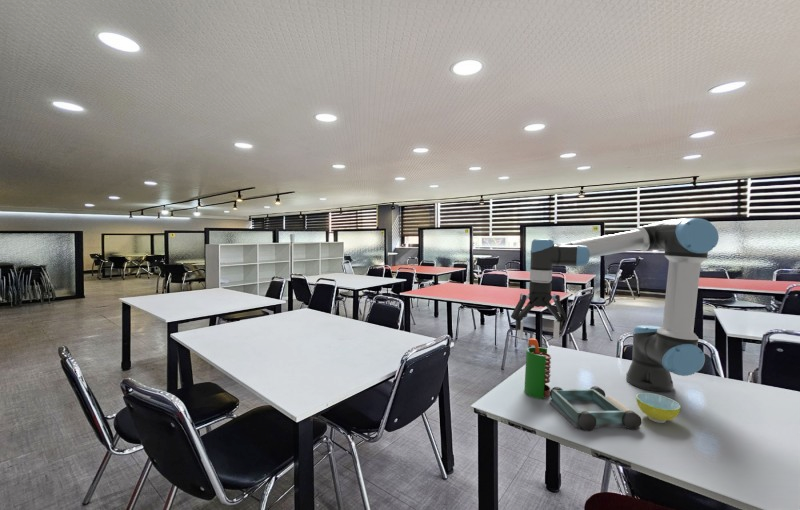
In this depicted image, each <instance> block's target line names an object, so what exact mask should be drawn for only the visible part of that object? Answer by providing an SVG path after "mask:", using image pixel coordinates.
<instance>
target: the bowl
mask: <svg viewBox="0 0 800 510" xmlns="http://www.w3.org/2000/svg"><path fill="white" fill-rule="evenodd" d="M635 397H636V404H637V406H638V408H639V409H640V411H642V413H644V414H645V415H646V416H647V418H648V420H650V421H653V422H655V423H657V424H665V423H666V421H671V420H673V419H675V418H676V417H677V416H678V415H679V414H680V411H681V404H680V403H679V402H677V401H676V400H674V399H672V398H670V397H667V396H664V395H661V394H658V393H654V392H653V393H652V392H640V393H637V394H636V396H635Z"/></svg>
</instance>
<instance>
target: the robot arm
mask: <svg viewBox="0 0 800 510" xmlns="http://www.w3.org/2000/svg"><path fill="white" fill-rule="evenodd" d="M718 242H719V232H718V230H717V228H716V226H715V225H713V223H712V222H710V221H709V220H707V219H704V218H697V217H696V218H695V217H686V218H677V219H676V218H674V219H666V220H662V221H658V222H655V223H650V224H648V225H643V226H642V225H641V226H638V227H636V228H635V229H634V230H630V231H624V232H618V233H614V234H608V235H607V234H606V235H602V236H597V237H591V238H586V239H585V238H584V239H581V240H580V239H579V240H575V241H570V242H569V241H568V242H563V243H554V240H553V239H552V238H551V239H550V238H549V239H545V238H544V239H543V238H537V239H533V240H532V241H531V245H530V268H529V269H530V270H529V280H530V281H529V286H528V287H529V289H528V291H529V293H528V294H524V293H520V297H519V301H518V302H517V304H516V306H515V307H514V309H513V312H512V313H511V314H510V318H511V319H512V320H515V329H516V330H517V339H519V340H523V337H524V334H523V333H524V321H523V319H524V318H525V317H526V316H527V315H528V314H529V312H530V311H531V310H532V309H533V308H535V307H536V308H540V307H541V308H546V309H548V310H549V312H550V314H551V315H552V316H553V317H554V318H555V320H553V332H552V333H553V339H555V340H557V341H558V340H560V331H562V327H563V325H562V324H563V322H565V321H568V315H567V314H566V311H565V310H564V307H563V305H562V303H561V298H560V297H561V296H560V295H559V294H557V293H554V294H552V285H553V284H552V281H553V266H560V267H561V266H564V267H586V266H587V265H588V264H589V261H590V259H592V258H596V257H602V256H607V255H614V254H620V253H625V252H632V251H638V250H640V252H646V251H647V252H648V251H664V254H663V255H664V256H663V257H665V258H666V259H667V260H668V269H667V279H666V288H665V289H666V290H665V297H664V298H665V299H664V307H663V309H664V310H663V317H662V326H657V325H636V326H634V328H633V332H632V358H631V359H632V360H631V364H629V365H630V366H629V368H628V371H627V372H626V374H625V375H626V376H625V380H626V381H627V382H628V383H629V384H631V385H632V386H635V387H637V388H640V389H643V390H646V391H652V392H659V393H667V392H668V393H669V392H672V391H673V389H674V381H673V379H672V375H671V373H673V374H674V375H677V376H682V377H683V376H684V377H687V376H692V375H694V374H695V373H697V372H699V371H701V370H702V369H703V367H704V364H705V361H706V356H705V353H704V352H703V351H702V349H701V348H700V347H699V346H698V344H699V336H697V334H696V333H695V332H694V328H695V320H696V319H695V318H696V310H697V300H698V290H699V283H700V276H701V275H700V273H701V264H702V263H703V262H705V261H706V260H707V259H708V254H709V252H711V251H712V250H713V249H714V248H715V247H716V246H717V245H718ZM527 300H529V301H528V302H527V303H526V301H527ZM551 300H552V301H553V302H554V305H555V307H556V309H557V310H556V309H555V308H554V307H553V305H552V303H551ZM525 304H526V305H525Z"/></svg>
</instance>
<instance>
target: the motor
mask: <svg viewBox="0 0 800 510" xmlns="http://www.w3.org/2000/svg"><path fill="white" fill-rule="evenodd" d="M528 346H530V347H527V348H526V350H525V371H524V393H525V394H526V395H528V396H530V397H533V398H536V399H540V400H544V398H548V397H550V391H551V387H550V386H549V385H548V384H549V383H550V382H551V368H552V367H551V366H552V365H551V364H552V355H551V354H549V353H548V348H547V347H539V342H538V340H537V339H536V338H534V337H533V338H529V337H528Z"/></svg>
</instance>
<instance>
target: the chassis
mask: <svg viewBox="0 0 800 510" xmlns="http://www.w3.org/2000/svg"><path fill="white" fill-rule="evenodd" d="M549 397H550V400H549V403H550V404H551V405H552V406H553V407H554V409H556V410H557V411H558V412H559V413H560V414H561V415H562V416H563V417H564V418H565V419H566V420H567V421H568V423H569V424H571V425H572V426H573V427H574V428H575V429H582V430H584V431H587V432H588V431H589V432H590V431H592V430H593V429H595V428H596V429H599V428H627V429H629V430H632V431H634V430H637V429H639V428H640V426H641V425H642V418H641V416H640V415H639V414H638V413H636V412H635V411H633V410H631V409H629V408H628V407H627V406H625V405H624V404H622V403H621V402H620V401H618V400H617V399H615V398H614V397H613V396H606V392H605V390H604V389H602V388H600V387H599V386H597V385H593V386H591V387H590V388H578V389H577V388H570V389H569V388H568V389H565V388H562V387H559V386H554V387H552V388H550V396H549Z"/></svg>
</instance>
